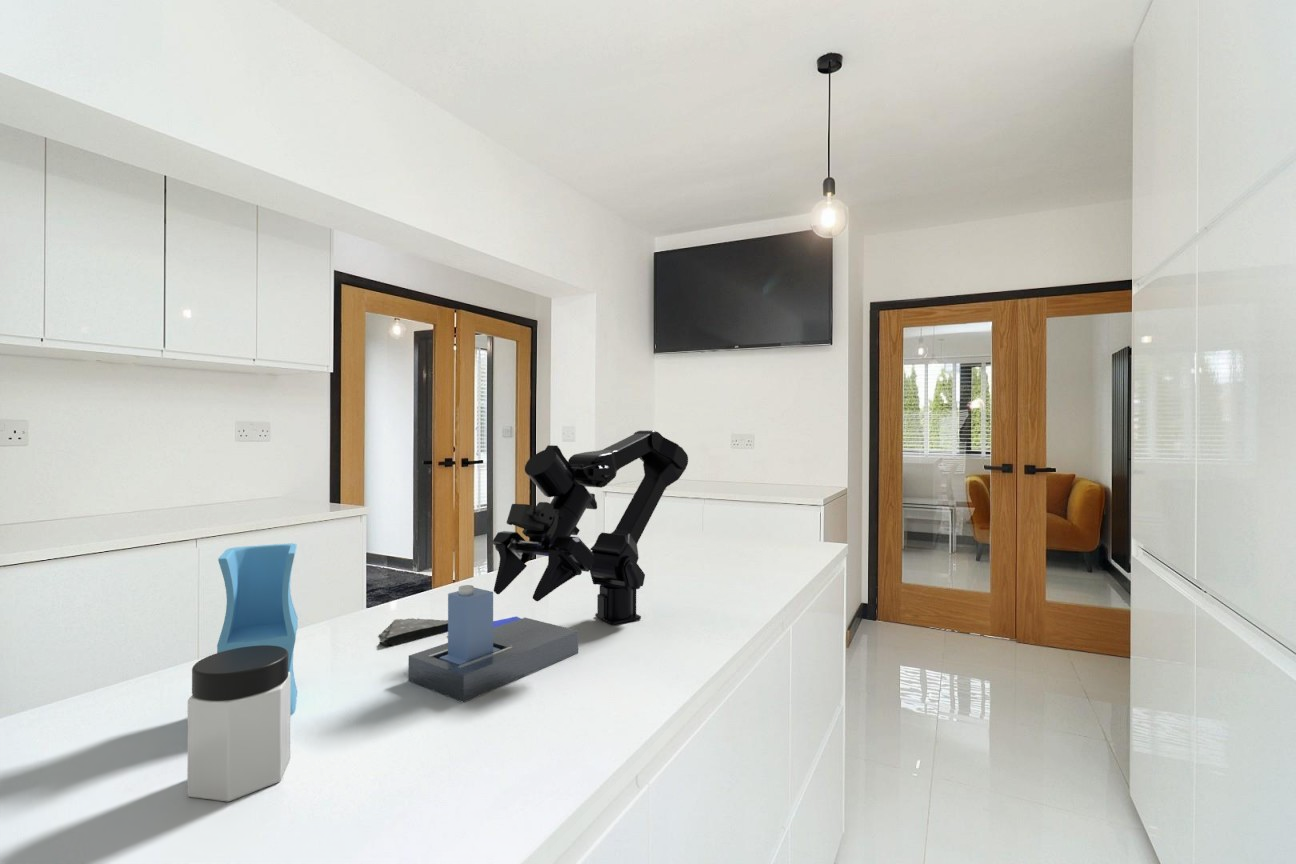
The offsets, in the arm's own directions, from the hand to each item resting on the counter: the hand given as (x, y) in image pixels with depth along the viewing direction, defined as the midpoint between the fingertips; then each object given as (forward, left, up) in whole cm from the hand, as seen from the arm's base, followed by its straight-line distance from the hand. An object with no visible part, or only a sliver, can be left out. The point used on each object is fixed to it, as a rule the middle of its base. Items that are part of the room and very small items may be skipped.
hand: (514, 596), depth 94 cm
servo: (+8, +3, -10) cm, 13 cm away
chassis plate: (+3, +1, -10) cm, 10 cm away
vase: (+33, -1, -10) cm, 34 cm away
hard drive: (-2, -14, -10) cm, 17 cm away
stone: (+10, -22, -10) cm, 27 cm away
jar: (+35, +16, -10) cm, 40 cm away
